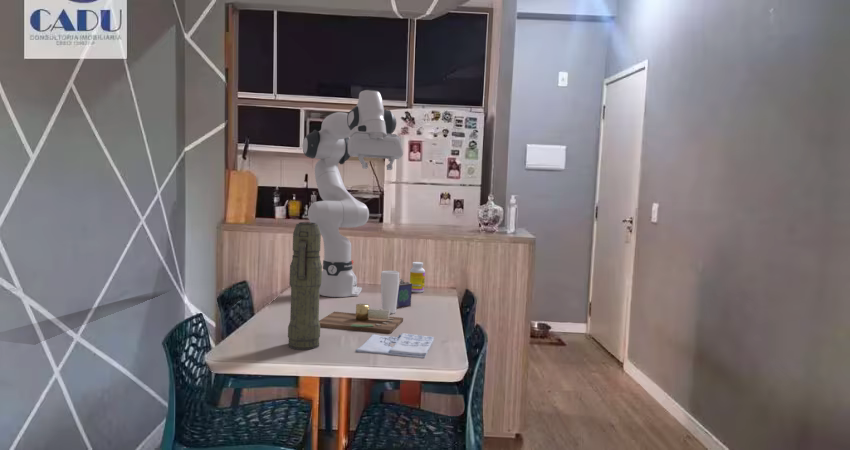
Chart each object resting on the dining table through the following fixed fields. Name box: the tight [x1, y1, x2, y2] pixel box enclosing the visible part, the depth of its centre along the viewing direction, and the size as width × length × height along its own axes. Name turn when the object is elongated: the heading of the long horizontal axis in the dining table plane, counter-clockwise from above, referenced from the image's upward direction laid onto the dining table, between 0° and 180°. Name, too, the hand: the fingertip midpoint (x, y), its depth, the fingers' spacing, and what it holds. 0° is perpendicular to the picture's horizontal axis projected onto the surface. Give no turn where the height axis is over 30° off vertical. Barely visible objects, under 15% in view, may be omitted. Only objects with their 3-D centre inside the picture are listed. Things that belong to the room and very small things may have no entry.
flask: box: [396, 278, 413, 309], centre depth 216 cm, size 9×3×11 cm, turn 134°
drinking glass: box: [380, 270, 401, 315], centre depth 205 cm, size 7×7×15 cm
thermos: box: [287, 221, 323, 351], centre depth 159 cm, size 9×12×35 cm
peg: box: [355, 303, 391, 321], centre depth 188 cm, size 11×4×5 cm, turn 79°
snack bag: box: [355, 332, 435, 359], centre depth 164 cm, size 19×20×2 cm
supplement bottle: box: [409, 261, 426, 294], centre depth 248 cm, size 7×7×13 cm
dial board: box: [319, 311, 404, 334], centre depth 187 cm, size 18×25×2 cm
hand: (377, 168), depth 199 cm, fingers open, 8 cm apart
